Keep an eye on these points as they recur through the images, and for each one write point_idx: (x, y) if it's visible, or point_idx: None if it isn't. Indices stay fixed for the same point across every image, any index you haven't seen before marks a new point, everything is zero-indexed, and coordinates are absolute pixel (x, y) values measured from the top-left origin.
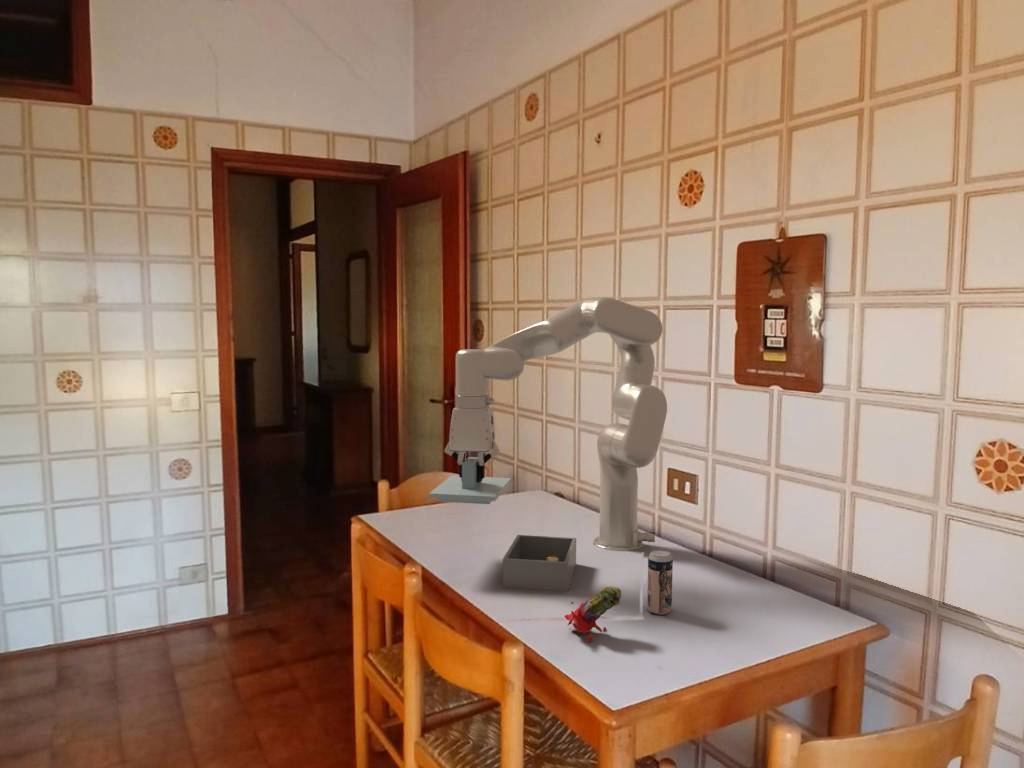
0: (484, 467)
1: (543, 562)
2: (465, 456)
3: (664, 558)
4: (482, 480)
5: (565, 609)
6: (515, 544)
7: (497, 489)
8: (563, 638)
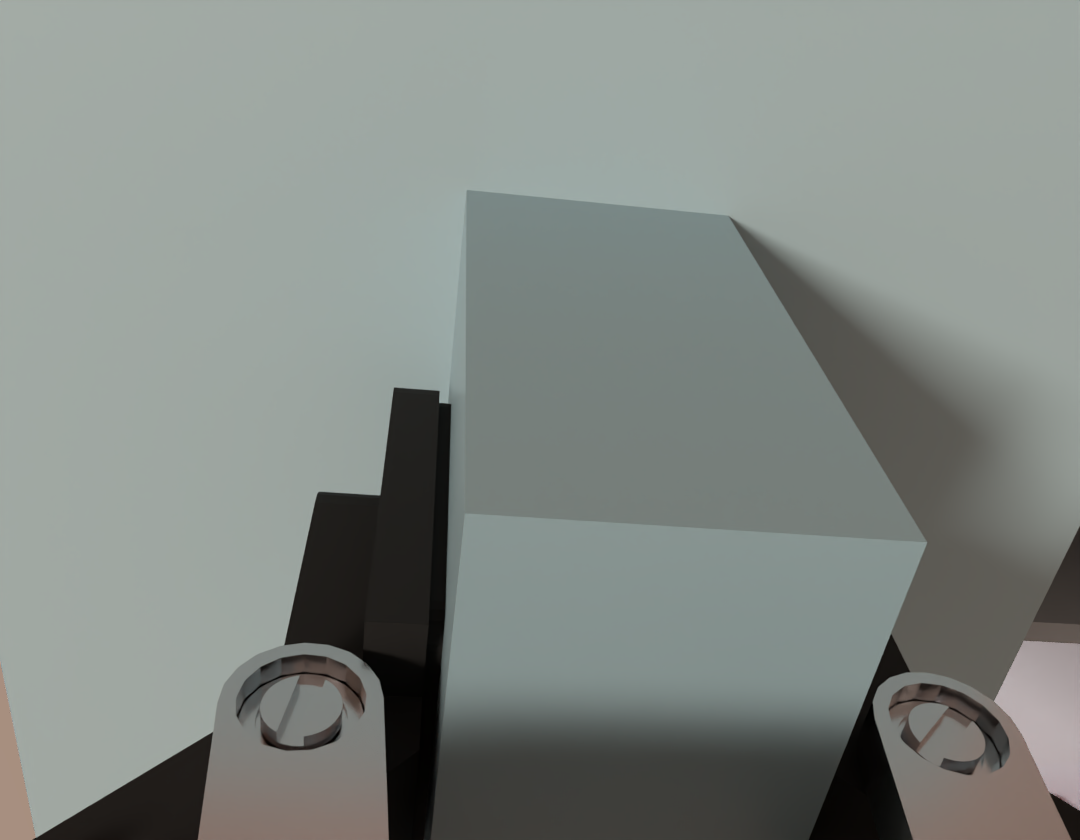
0: (896, 669)
1: (1051, 639)
2: (386, 836)
3: None
4: (748, 21)
5: (1030, 660)
6: None
7: (969, 643)
8: None
